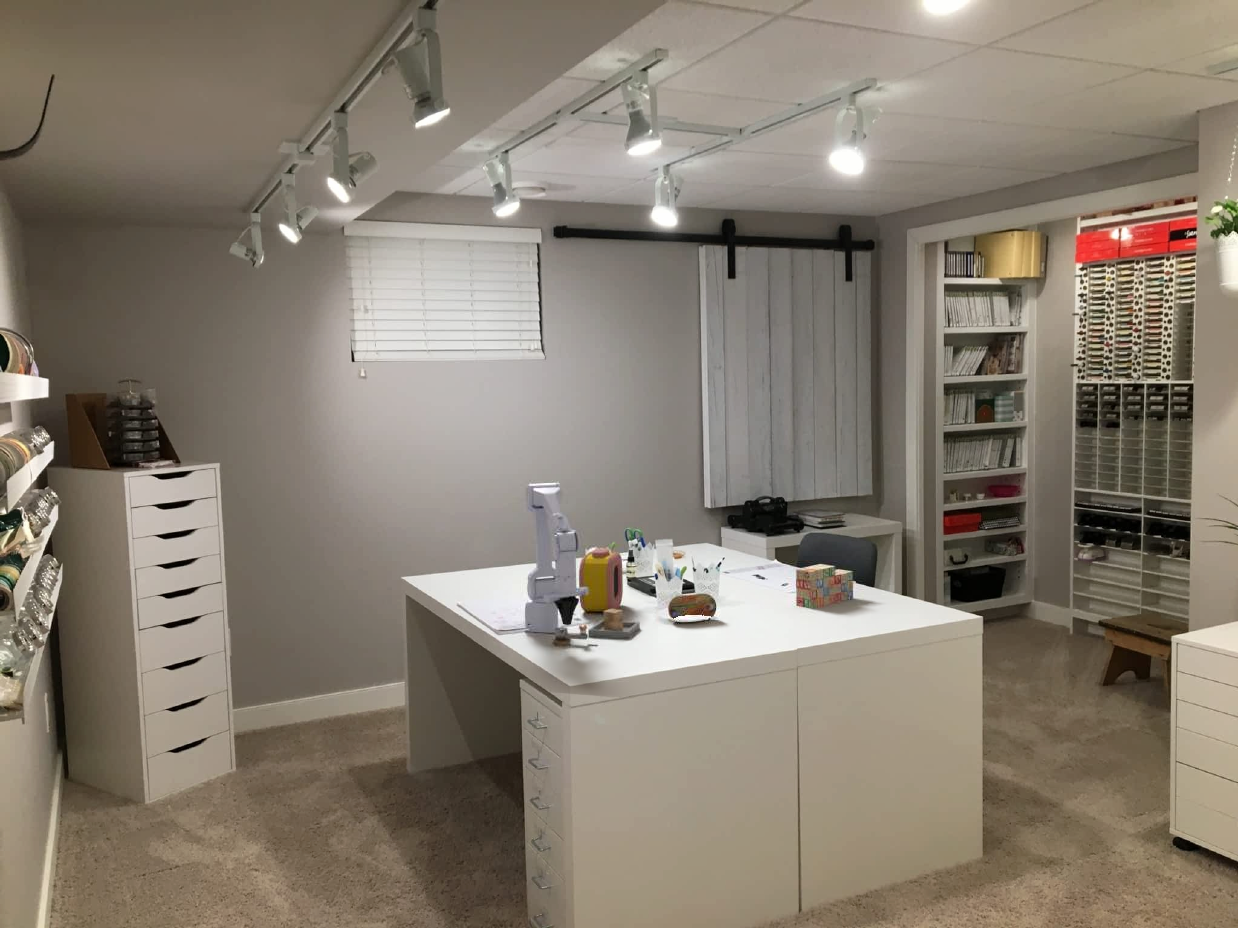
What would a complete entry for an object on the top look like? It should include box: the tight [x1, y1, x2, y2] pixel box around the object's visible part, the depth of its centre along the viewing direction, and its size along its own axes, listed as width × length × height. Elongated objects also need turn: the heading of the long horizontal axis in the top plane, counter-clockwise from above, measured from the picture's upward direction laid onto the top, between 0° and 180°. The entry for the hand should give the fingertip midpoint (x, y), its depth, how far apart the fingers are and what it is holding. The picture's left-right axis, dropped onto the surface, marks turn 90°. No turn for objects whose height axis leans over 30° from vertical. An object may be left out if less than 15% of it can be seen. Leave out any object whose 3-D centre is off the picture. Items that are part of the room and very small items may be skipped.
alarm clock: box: [578, 547, 624, 613], centre depth 325 cm, size 18×11×19 cm, turn 168°
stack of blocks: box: [795, 563, 854, 609], centre depth 330 cm, size 21×6×12 cm, turn 129°
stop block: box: [603, 608, 624, 631], centre depth 295 cm, size 4×4×6 cm
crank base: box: [552, 637, 598, 647], centre depth 283 cm, size 13×5×1 cm, turn 73°
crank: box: [554, 624, 588, 640], centre depth 283 cm, size 9×4×4 cm, turn 74°
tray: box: [587, 619, 641, 640], centre depth 295 cm, size 12×12×2 cm
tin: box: [667, 593, 717, 620], centre depth 308 cm, size 15×3×8 cm, turn 106°
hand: (566, 624), depth 278 cm, fingers closed
